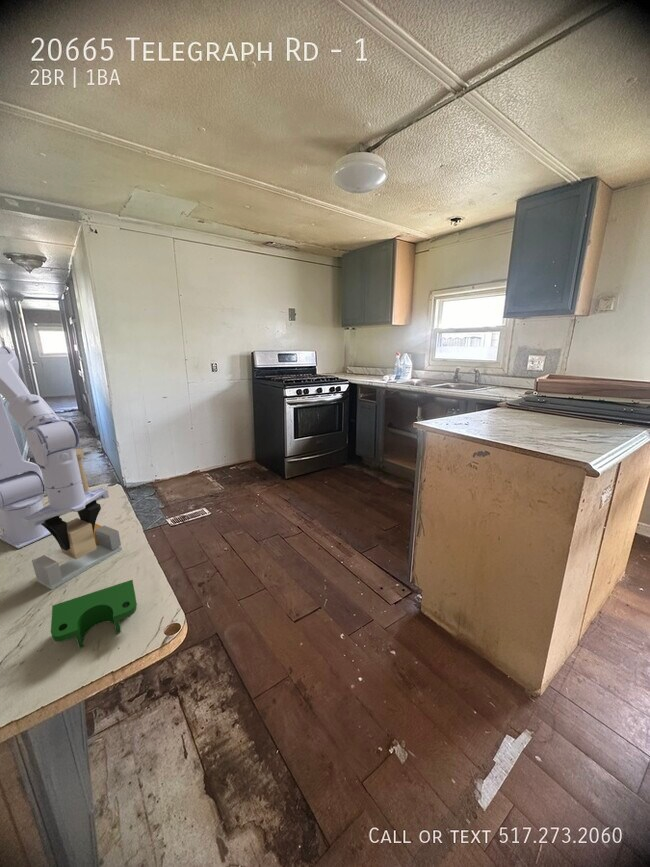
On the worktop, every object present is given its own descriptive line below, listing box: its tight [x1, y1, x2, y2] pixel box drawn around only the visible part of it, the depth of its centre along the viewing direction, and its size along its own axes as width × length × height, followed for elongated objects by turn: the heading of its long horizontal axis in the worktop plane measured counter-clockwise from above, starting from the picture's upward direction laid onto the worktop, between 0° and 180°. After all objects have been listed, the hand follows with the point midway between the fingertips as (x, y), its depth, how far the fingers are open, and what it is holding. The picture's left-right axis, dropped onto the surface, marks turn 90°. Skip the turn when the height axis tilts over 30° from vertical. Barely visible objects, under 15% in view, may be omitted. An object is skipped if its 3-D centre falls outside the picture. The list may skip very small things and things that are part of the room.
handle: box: [74, 448, 90, 493], centre depth 96 cm, size 5×6×15 cm
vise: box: [31, 545, 123, 590], centre depth 71 cm, size 5×14×5 cm, turn 154°
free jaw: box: [94, 523, 122, 550], centre depth 77 cm, size 12×2×4 cm, turn 64°
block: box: [60, 517, 97, 560], centre depth 70 cm, size 5×4×6 cm
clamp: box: [50, 579, 138, 649], centre depth 55 cm, size 12×6×9 cm, turn 116°
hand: (77, 542), depth 70 cm, fingers closed on block, 4 cm apart
